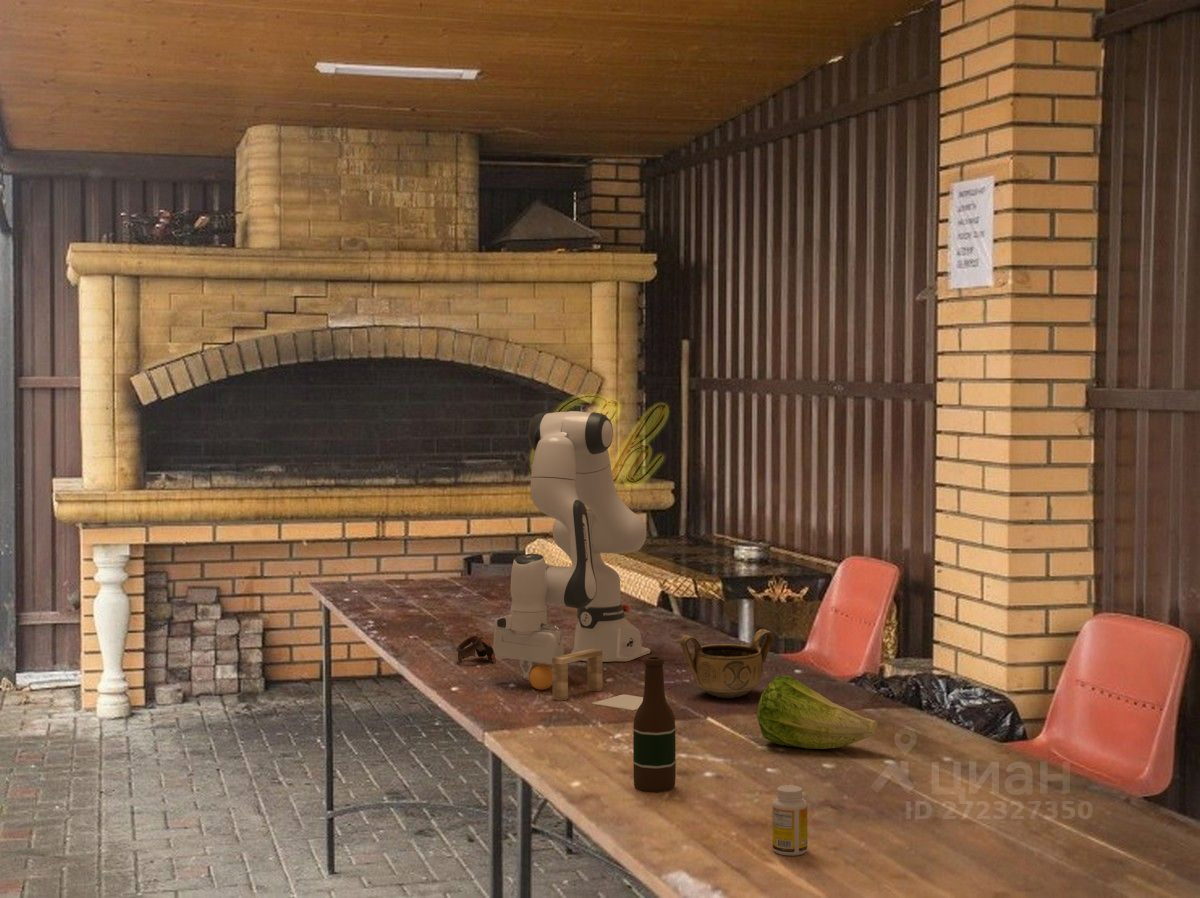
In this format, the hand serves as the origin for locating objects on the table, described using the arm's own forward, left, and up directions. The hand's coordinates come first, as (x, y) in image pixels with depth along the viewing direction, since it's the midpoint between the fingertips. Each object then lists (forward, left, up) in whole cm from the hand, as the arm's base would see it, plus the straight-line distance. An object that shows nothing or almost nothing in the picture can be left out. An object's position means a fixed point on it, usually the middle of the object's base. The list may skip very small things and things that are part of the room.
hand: (528, 679), depth 381 cm
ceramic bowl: (-21, +44, -2) cm, 48 cm away
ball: (0, +4, +1) cm, 4 cm away
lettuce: (+10, +87, -2) cm, 87 cm away
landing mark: (-1, +30, -2) cm, 30 cm away
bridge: (-1, +15, -2) cm, 15 cm away
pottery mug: (-17, -33, -2) cm, 37 cm away
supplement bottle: (+72, +118, -2) cm, 138 cm away
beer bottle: (+54, +78, -2) cm, 95 cm away
